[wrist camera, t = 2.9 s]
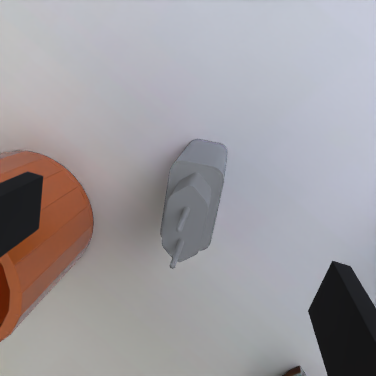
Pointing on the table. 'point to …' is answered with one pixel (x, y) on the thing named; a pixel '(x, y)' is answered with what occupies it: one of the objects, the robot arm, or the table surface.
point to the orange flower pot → (42, 238)
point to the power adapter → (193, 199)
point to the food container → (295, 372)
